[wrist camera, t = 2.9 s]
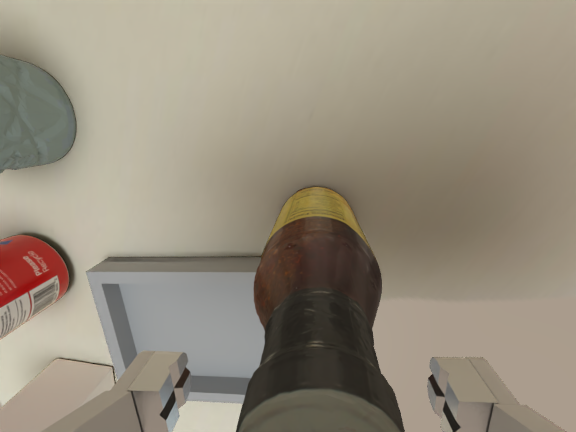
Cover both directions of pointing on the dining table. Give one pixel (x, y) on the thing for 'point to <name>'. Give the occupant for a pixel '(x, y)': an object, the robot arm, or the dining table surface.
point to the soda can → (28, 280)
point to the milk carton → (54, 395)
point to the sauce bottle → (318, 325)
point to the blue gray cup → (32, 116)
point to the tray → (184, 317)
